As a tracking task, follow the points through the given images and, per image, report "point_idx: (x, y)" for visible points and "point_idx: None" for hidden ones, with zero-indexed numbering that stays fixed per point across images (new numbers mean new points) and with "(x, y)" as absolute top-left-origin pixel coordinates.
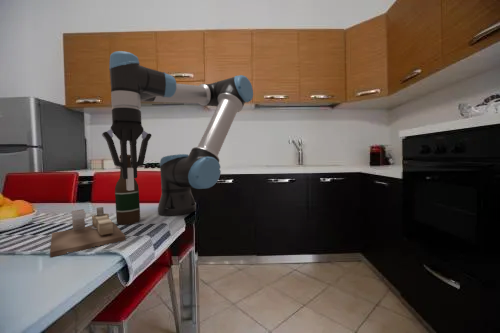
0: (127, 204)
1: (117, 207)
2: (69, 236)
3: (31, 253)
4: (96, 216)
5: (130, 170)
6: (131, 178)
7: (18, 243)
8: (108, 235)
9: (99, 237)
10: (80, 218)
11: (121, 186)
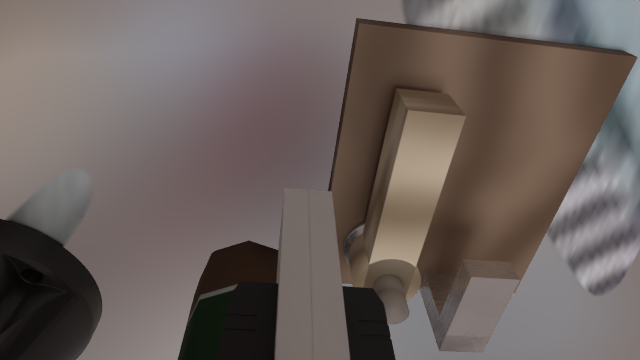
0: None
1: None
2: (502, 209)
3: (625, 153)
4: (406, 276)
5: (315, 349)
6: (304, 269)
7: (589, 285)
8: None
9: None
10: (482, 261)
11: None
